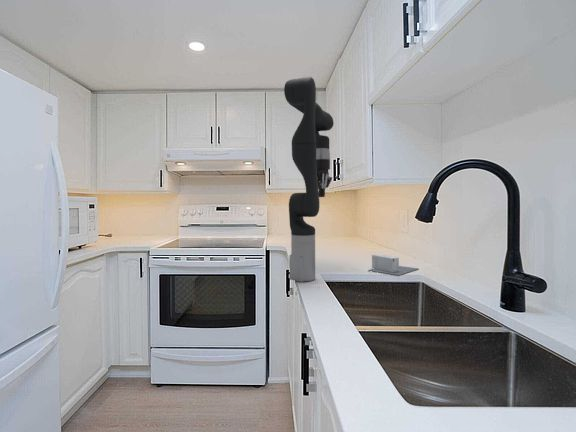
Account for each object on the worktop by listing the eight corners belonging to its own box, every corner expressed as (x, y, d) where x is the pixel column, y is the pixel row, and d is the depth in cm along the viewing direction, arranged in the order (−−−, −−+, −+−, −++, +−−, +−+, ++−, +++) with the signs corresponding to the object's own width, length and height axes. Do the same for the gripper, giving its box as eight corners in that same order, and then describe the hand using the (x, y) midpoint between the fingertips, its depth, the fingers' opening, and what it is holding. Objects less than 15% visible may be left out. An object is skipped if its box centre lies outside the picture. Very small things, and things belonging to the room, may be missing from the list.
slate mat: (398, 275, 135) (398, 274, 135) (368, 271, 145) (368, 270, 145) (418, 269, 148) (418, 268, 148) (389, 265, 158) (389, 264, 158)
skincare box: (378, 266, 152) (399, 271, 142) (371, 268, 150) (392, 273, 140) (378, 253, 152) (399, 257, 141) (371, 254, 150) (392, 258, 139)
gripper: (318, 157, 149) (318, 196, 149) (337, 159, 158) (337, 197, 159) (306, 158, 154) (306, 197, 155) (324, 161, 163) (324, 197, 164)
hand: (321, 197), depth 157 cm, fingers closed
